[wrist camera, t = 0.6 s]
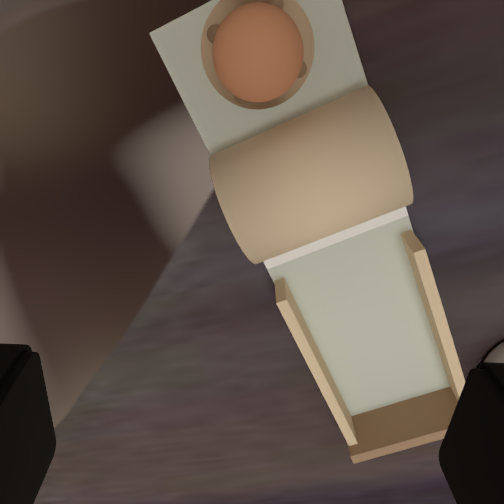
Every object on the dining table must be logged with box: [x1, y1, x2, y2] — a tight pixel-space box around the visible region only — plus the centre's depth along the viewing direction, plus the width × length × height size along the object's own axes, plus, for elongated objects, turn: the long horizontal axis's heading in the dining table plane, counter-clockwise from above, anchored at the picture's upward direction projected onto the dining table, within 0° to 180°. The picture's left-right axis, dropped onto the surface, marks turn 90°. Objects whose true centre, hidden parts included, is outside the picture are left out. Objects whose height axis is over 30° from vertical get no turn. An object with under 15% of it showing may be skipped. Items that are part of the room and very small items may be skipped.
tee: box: [201, 0, 314, 110], centre depth 27 cm, size 7×7×1 cm
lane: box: [149, 0, 465, 463], centre depth 33 cm, size 11×36×8 cm, turn 24°
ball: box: [212, 2, 304, 102], centre depth 25 cm, size 5×5×5 cm
